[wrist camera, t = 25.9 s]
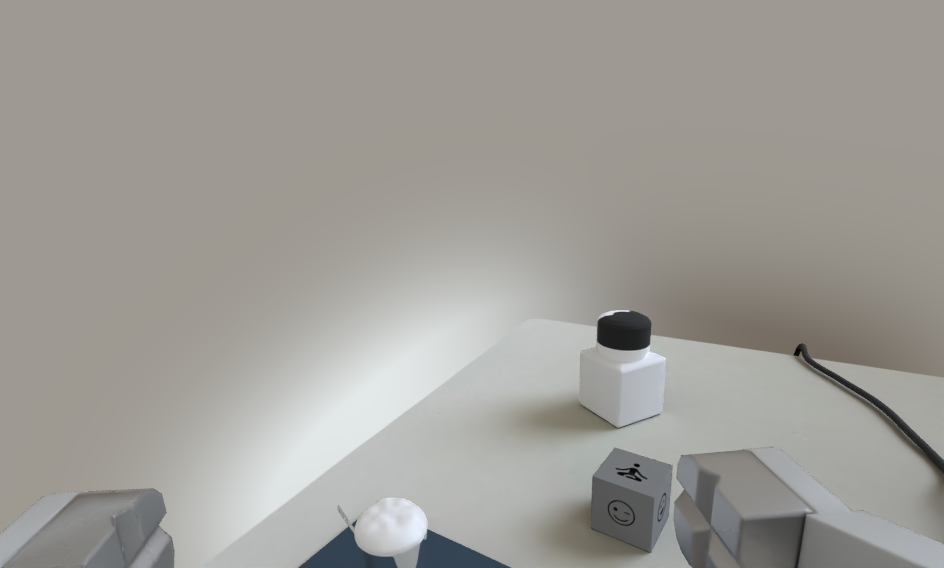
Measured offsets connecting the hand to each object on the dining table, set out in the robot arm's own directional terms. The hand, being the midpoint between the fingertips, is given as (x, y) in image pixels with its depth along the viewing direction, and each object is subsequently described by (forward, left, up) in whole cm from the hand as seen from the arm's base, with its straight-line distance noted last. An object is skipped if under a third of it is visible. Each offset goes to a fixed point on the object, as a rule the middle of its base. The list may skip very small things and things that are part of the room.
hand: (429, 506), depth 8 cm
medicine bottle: (-52, -13, -26) cm, 60 cm away
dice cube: (-33, -6, -26) cm, 43 cm away
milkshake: (-14, -16, -26) cm, 33 cm away
